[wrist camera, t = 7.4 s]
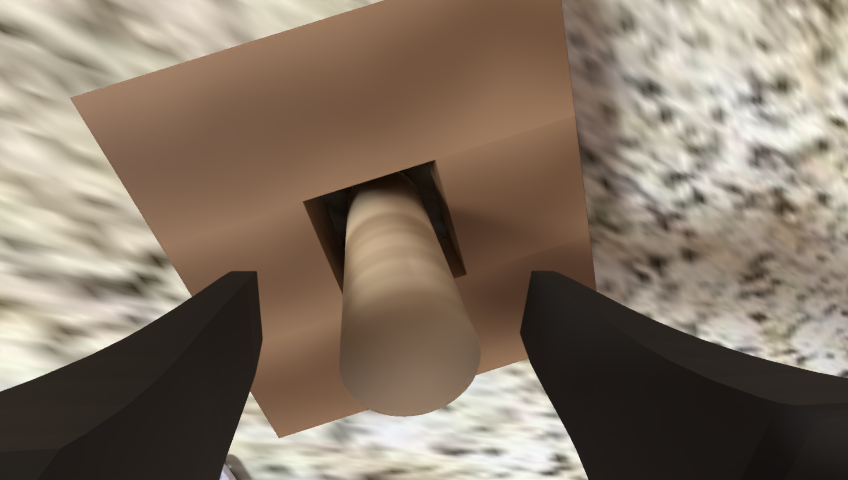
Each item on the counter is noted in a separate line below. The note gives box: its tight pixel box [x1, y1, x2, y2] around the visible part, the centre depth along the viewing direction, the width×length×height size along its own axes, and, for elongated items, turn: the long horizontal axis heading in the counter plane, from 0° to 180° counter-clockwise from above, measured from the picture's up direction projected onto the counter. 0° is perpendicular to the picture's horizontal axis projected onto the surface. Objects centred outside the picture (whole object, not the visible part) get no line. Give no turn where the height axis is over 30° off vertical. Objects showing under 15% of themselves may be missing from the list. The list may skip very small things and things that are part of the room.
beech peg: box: [339, 172, 481, 417], centre depth 14 cm, size 3×3×10 cm
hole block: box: [70, 0, 596, 438], centre depth 17 cm, size 14×14×4 cm
